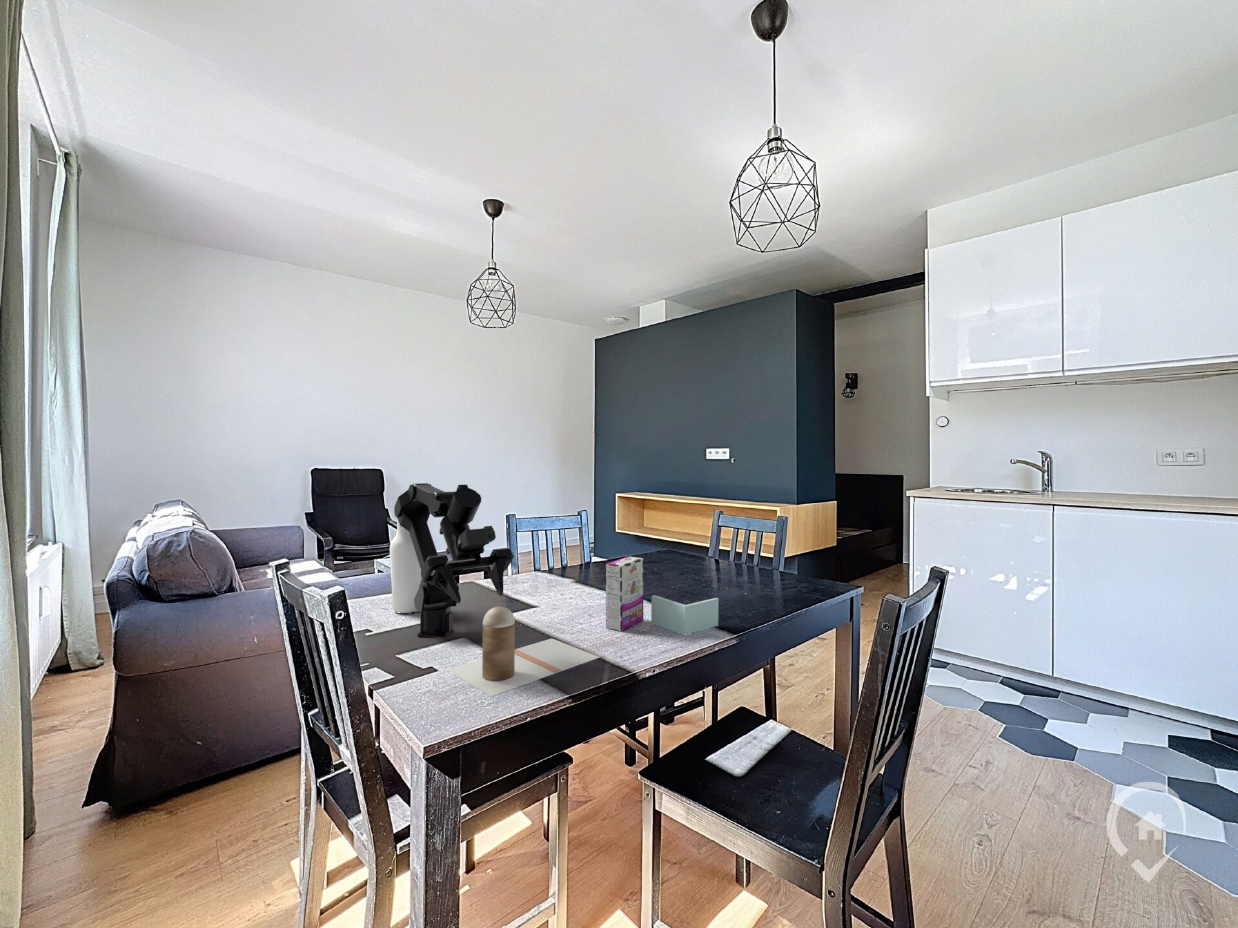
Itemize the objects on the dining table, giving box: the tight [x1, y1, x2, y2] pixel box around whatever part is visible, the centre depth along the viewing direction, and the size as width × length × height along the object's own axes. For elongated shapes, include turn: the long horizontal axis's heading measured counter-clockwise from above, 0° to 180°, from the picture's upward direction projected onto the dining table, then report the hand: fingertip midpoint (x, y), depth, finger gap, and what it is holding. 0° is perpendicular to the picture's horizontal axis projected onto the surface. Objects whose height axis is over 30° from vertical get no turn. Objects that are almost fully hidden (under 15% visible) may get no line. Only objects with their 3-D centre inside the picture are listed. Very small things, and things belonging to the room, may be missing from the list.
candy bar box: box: [605, 556, 644, 632], centre depth 137 cm, size 11×5×16 cm, turn 148°
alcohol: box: [389, 519, 422, 614], centre depth 147 cm, size 9×9×30 cm
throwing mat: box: [446, 638, 601, 697], centre depth 109 cm, size 26×16×1 cm, turn 135°
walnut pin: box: [481, 606, 516, 681], centre depth 103 cm, size 6×6×13 cm
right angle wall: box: [650, 594, 719, 635], centre depth 138 cm, size 12×12×8 cm
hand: (481, 598), depth 110 cm, fingers open, 9 cm apart
